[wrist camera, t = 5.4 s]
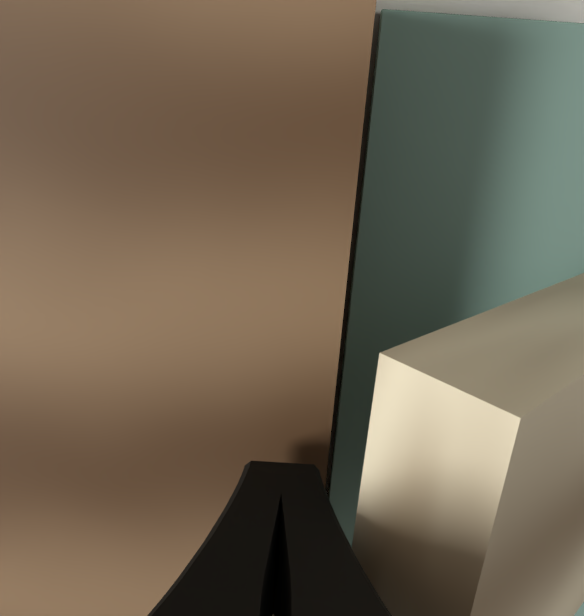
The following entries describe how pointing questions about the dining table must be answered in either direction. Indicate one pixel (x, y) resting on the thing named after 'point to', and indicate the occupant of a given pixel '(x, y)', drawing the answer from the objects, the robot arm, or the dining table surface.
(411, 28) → the rubber mat
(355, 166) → the board
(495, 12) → the dining table surface
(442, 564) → the birch block
